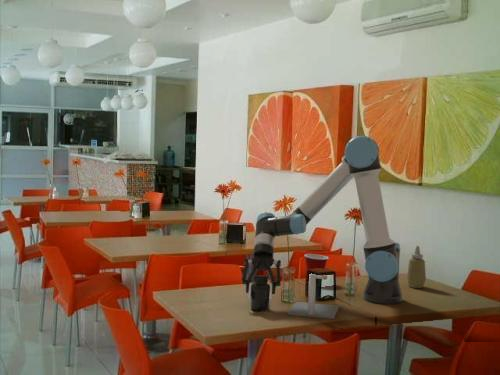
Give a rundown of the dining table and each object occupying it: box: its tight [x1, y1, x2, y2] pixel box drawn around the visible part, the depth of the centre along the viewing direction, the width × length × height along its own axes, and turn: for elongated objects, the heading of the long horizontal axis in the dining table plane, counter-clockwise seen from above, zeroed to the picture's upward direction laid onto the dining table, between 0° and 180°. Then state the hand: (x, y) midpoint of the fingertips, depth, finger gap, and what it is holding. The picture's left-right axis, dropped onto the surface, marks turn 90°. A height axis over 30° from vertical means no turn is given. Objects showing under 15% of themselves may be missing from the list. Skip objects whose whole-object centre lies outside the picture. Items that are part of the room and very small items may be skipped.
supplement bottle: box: [250, 274, 271, 313], centre depth 216 cm, size 7×7×12 cm
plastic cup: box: [304, 253, 329, 270], centre depth 265 cm, size 11×11×12 cm
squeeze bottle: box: [406, 245, 427, 289], centre depth 261 cm, size 8×8×18 cm
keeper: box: [287, 273, 340, 320], centre depth 216 cm, size 16×16×15 cm
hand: (259, 300), depth 213 cm, fingers closed on supplement bottle, 7 cm apart
